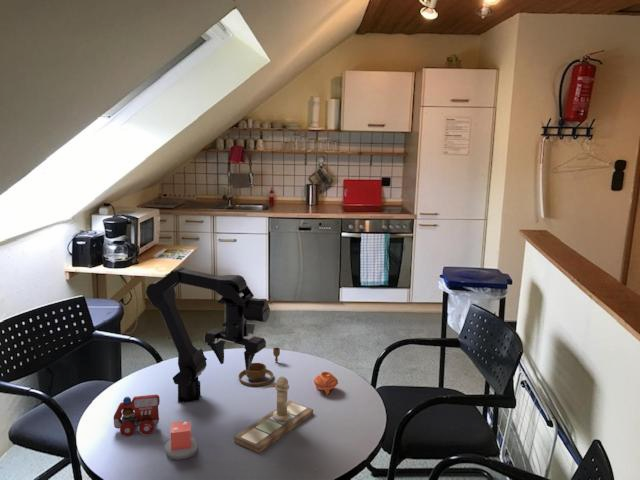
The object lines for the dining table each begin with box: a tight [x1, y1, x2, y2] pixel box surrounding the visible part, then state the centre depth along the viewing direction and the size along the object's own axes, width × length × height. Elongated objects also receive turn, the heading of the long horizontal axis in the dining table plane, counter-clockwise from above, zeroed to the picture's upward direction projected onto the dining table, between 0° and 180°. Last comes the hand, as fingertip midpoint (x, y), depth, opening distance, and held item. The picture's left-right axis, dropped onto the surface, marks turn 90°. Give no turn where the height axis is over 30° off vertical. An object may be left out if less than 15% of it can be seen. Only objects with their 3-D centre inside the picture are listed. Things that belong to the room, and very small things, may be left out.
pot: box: [313, 371, 339, 396], centre depth 178 cm, size 8×8×7 cm
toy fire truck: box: [113, 394, 161, 437], centre depth 153 cm, size 7×12×10 cm, turn 101°
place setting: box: [237, 347, 281, 390], centre depth 188 cm, size 18×20×6 cm
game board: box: [233, 400, 314, 454], centre depth 157 cm, size 25×9×2 cm, turn 146°
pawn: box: [273, 376, 290, 422], centre depth 158 cm, size 5×5×13 cm
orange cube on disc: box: [165, 420, 198, 461], centre depth 144 cm, size 8×8×8 cm
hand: (234, 366), depth 165 cm, fingers open, 9 cm apart
